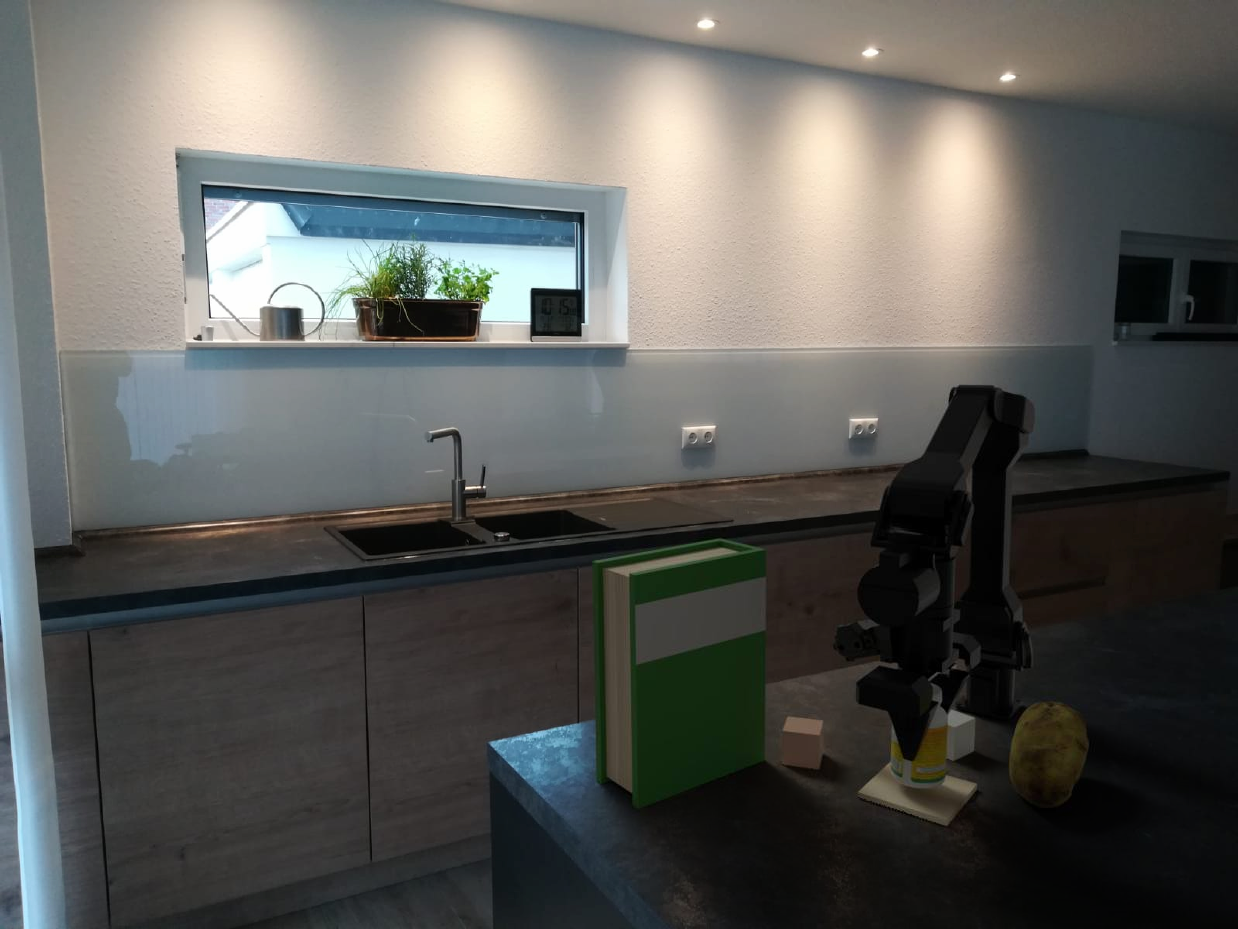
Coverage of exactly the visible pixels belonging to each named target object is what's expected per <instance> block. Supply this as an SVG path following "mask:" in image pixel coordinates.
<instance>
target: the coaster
mask: <svg viewBox="0 0 1238 929" xmlns="http://www.w3.org/2000/svg"><path fill="white" fill-rule="evenodd" d="M977 790H978V783H976V782H972V781H968V780H964V779H961V778H957V777H954V776H951V775H948V774H946V777H945V781H944V782H943V784H942V785H940V786H938V787H936V788H930V789H925V788H914V787H909V786H906V785H904V784H901V783H900V782H898V781H897V780H895V779H894V777H893V776H892V774H891V761H889V763H887V764H886V765H885V766H884V767H883V768H881V770H880V771H879V772H878V773H876V775H875V776H874V777H872V778H871V779H870V780H869V781H868V782H867V783H866V784H865V785H864V786H862V788H860V789H859V790H858V792H857V798H858V797H860V798H862V799H861V800H863V799H866V800H865V801H867V802H870V801H872V802H871V803H873V802H874V803H873V804H876V803H877V805H879V804H881V805H880V806H882V805H883V807H885V806H886V807H885V808H888V807H890V808H889V809H892V808H894V809H893V810H895V809H897V810H896V811H898V810H900V811H899V812H901V811H904V812H906V813H905V814H907V813H908V815H910V814H912V815H911V816H913V815H914V816H915V817H917V816H918V817H917V818H919V819H923V818H924V819H923V820H926V819H927V820H926V821H929V822H933V823H935V822H936V824H940V825H942V826H946V827H948V826H949V824H950V823H951V822H952V820H954V819H955V817H956V815H958V813H959V812H960V811H961V810H962V809H963V807H964V806H965V805H966V803H967V802H968V801H969V800H970V799H971V797H972V796H973V795H974V793H975V792H976V791H977ZM860 798H859V799H860ZM964 804H965V805H964ZM884 805H885V806H884ZM904 812H903V813H904ZM950 821H951V822H950Z"/></svg>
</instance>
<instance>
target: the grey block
mask: <svg viewBox="0 0 1238 929" xmlns="http://www.w3.org/2000/svg"><path fill="white" fill-rule="evenodd" d="M975 732H976V717H974V716H970V715H969V714H965V713H962V712H960V711H956V710H954V709H951V710H950V712H949V714H948V730H947V755H946V760H950V761H953V762H955V761H956V760H959V759H961V758H963V757H965V756H967V755H969V754H971V753H973V752H974V751H975V734H976V733H975Z"/></svg>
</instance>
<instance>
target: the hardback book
mask: <svg viewBox="0 0 1238 929" xmlns="http://www.w3.org/2000/svg"><path fill="white" fill-rule="evenodd" d="M592 605H593V606H592V609H593V610H592V611H593V612H592V613H593V654H594V655H593V659H594V661H593V664H594V667H593V669H594V712H595V713H594V715H595V755H596V756H595V758H596V759H595V764H596V765H595V766H596V768H595V769H596V782H598V783H599V784H601V785H603V784H606V783H608V782H609V783H610V782H611V781H612V782H614V783H616V784H617V785H619V786H620V787H622V788H623V789H624V790H626V791H628V792H629V793H631V794H632V795H631V796H632V797H631V798H632V806H633V807H635V808H636V809H637V810H639V809H642V808H644V807H646V806H647V807H648V806H651V805H653V804H655V803H657V802H660V801H663V800H666V799H667V798H670V797H673V796H675V795H678V794H681V793H683V792H686V791H689V790H692V789H694V788H696V787H697V788H698V787H699V786H702V785H704V784H707V783H709V782H712V781H715V780H717V778H718V779H720V778H722V777H726V776H728V775H730V774H729V773H731V774H733V773H735V771H736V772H738V771H741V770H744V769H746V768H748V767H751V766H754V765H757V764H759V763H761V762H764V761H765V760H766V665H767V664H766V660H767V659H766V655H767V654H766V652H767V651H766V649H767V648H766V643H767V642H766V641H767V640H766V634H767V633H766V629H767V628H766V627H767V624H766V623H767V619H766V618H767V616H766V615H767V549H765V548H762V547H757V546H753V545H749V544H745V543H741V542H736V541H732V540H729V539H724V538H715V539H710V540H704V541H698V542H692V543H688V544H687V543H686V544H682V545H681V544H680V545H676V546H670V547H665V548H660V549H659V548H658V549H653V550H648V551H642V552H637V553H636V552H635V553H630V554H627V555H625V554H624V555H621V556H614V557H609V558H603V559H598V560H593V561H592ZM763 760H764V761H763ZM756 763H757V764H756ZM745 767H746V768H745ZM737 770H738V771H737ZM719 777H720V778H719ZM711 780H712V781H711ZM701 784H702V785H701Z"/></svg>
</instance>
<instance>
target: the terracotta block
mask: <svg viewBox="0 0 1238 929" xmlns="http://www.w3.org/2000/svg"><path fill="white" fill-rule="evenodd" d="M781 731H782V732H781V733H782V734H781V735H782V736H781V738H782V740H781V742H782V743H781V747H782V748H781V765H782V764H784V765H783V766H789V765H790V766H789V767H799V768H804V767H805V769H811V768H813V769H812V770H820V767H821V763H822V758H823V756H824V720H820V719H813V718H812V719H811V718H805V717H793V716H787V717H786V720H785V723H784V726H783V728H782V730H781Z"/></svg>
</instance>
